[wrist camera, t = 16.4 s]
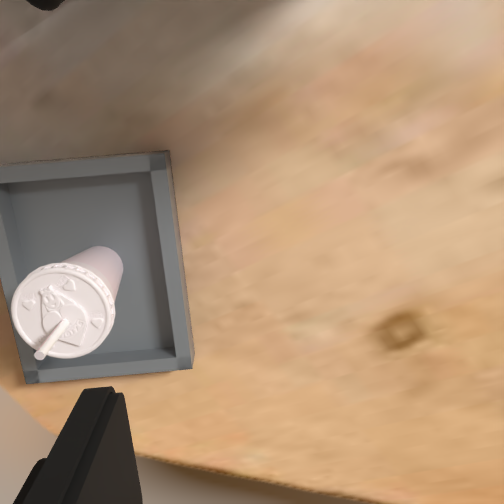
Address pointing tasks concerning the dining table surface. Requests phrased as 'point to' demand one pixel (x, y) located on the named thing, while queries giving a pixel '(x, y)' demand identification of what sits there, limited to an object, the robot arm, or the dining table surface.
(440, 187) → the dining table surface
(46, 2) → the coffeepot
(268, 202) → the dining table surface
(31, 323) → the smoothie
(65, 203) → the tray
